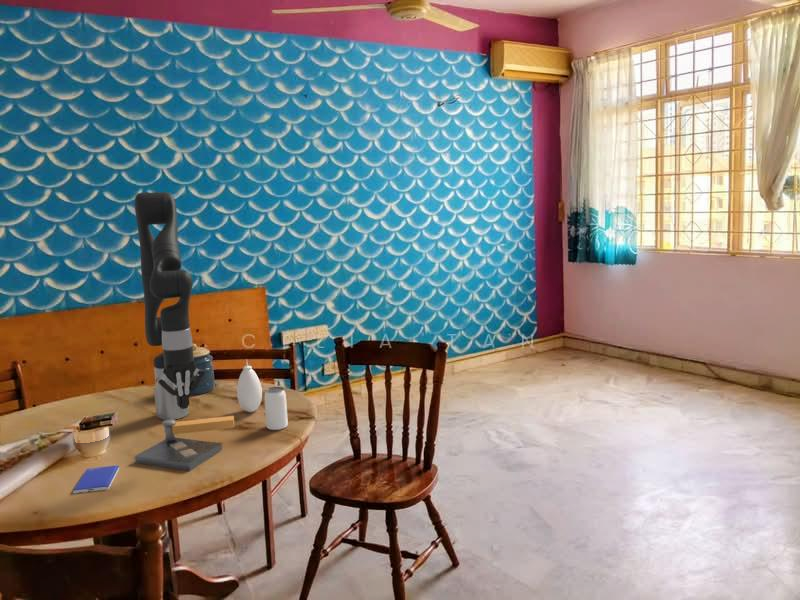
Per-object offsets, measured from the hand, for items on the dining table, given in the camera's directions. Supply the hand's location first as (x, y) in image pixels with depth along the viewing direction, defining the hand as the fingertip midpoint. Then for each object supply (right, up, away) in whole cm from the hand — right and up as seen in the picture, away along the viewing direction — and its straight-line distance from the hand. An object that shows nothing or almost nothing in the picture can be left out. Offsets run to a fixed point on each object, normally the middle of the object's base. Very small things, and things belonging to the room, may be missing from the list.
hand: (183, 407), depth 174 cm
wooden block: (0, -10, +14) cm, 17 cm away
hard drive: (-20, -18, -8) cm, 28 cm away
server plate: (-3, -14, +5) cm, 16 cm away
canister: (-17, -5, +65) cm, 68 cm away
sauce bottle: (+9, -8, +40) cm, 42 cm away
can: (+20, -10, +25) cm, 34 cm away
